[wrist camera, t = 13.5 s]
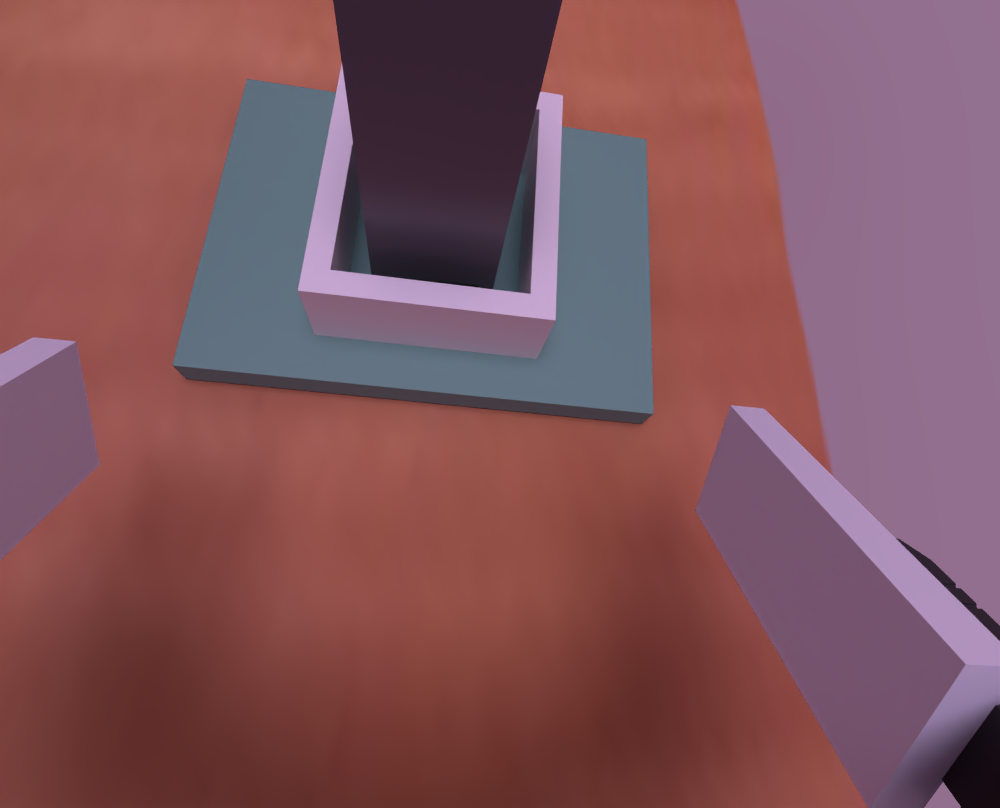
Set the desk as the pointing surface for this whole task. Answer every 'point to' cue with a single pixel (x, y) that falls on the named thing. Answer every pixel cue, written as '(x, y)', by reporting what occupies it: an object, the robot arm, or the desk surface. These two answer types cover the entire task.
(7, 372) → the robot arm
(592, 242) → the board
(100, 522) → the desk surface
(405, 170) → the block
